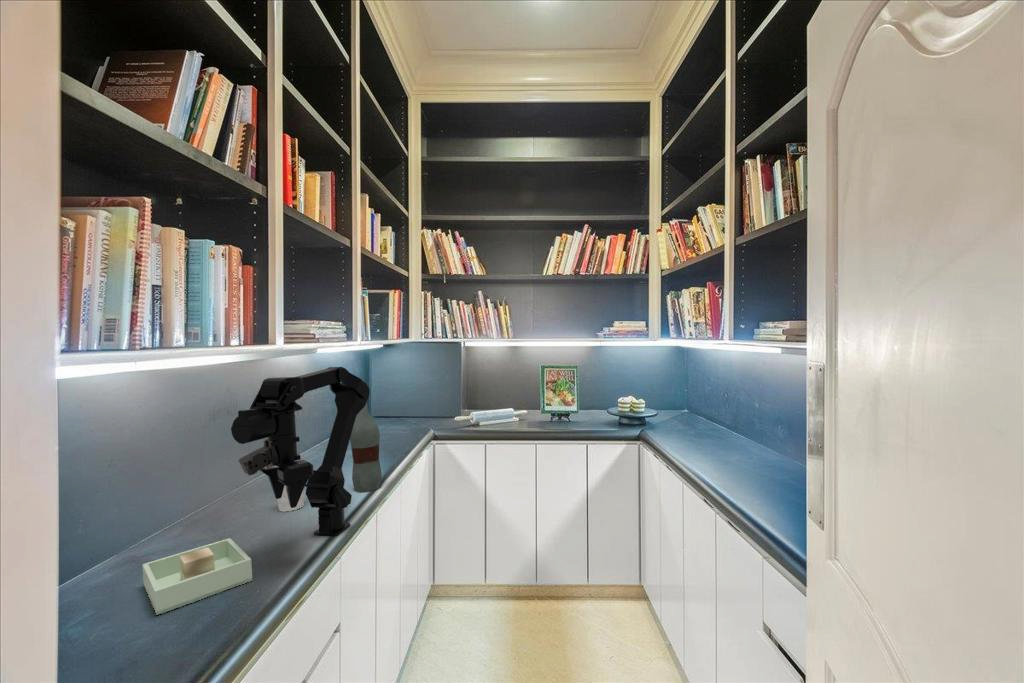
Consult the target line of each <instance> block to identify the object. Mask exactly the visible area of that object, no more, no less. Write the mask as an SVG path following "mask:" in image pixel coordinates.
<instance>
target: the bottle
mask: <svg viewBox="0 0 1024 683" xmlns="http://www.w3.org/2000/svg"><path fill="white" fill-rule="evenodd" d="M380 439H381V438H380V430H379V426H378V423H377V422H376V420H375V419H374V418H373V417H372V415H371V414H370V413H369V409H368V401H367V402H366V405H365V407H364V408H363V409H362V410H361V411H360V412H359V413H358V414H357V416H356V419H355V422H354V426H353V429H352V433H351V437H350V440H349V443H350V446H351V455H352V473H351V474H352V475H351V481H352V486H353V489H354V491H355V492H357V493H368V492H367V491H369V492H374V491H376V490H378V489H380V488H381V485H382V475H383V473H382V468H381V463H380V441H381V440H380Z"/></svg>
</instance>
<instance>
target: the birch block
mask: <svg viewBox="0 0 1024 683" xmlns="http://www.w3.org/2000/svg"><path fill="white" fill-rule="evenodd" d="M179 559H180V576H181V581H183V580H186V579H189V578H192V577H195V576H198V575H201V574H204V573H207V572H210V571H213V570H215V563H214V554H213V553H212V551H211V550H210V549H209V548H204V549H201V550H198V551H194V552H191V553H188V554H184V555H181V556H179Z"/></svg>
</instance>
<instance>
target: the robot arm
mask: <svg viewBox="0 0 1024 683" xmlns="http://www.w3.org/2000/svg"><path fill="white" fill-rule="evenodd" d="M327 386H329V390H330V391H331V393H332V394H334V395H335V396H334V403H335V406H336V411H337V412H336V415H335V418H334V422H333V426H332V427H331V428H332V429H331V432H330V436H329V439H328V442H327V446H326V449H325V453H324V456H323V459H322V462H321V465H320V466H319V467H318V468H317V469H315V470H314V465H313V464H312V463H311V462H309V461H308V460H305V459H301V457H302V456H301V454H299V453H298V445H297V442H301V441H300V436H298V435H297V430H296V429H297V426H296V425H297V424H296V412H297V411H301V410H303V406H301V405H300V404H298V403H297V402H296V401H298V400H300V399H301V398H303V396H304V395H305V394H306V393H308V392H312V391H314V390H318V389H321V388H324V387H327ZM370 391H371V389H370V387H369V385H368V384H367V383H366V382H365V381H364V380H363V379H361V378H360V377H358V376H357V375H355V374H353V373H351V372H349V370H347V368H345V367H343V366H329V367H327V368H324V369H322V370H321V369H320V370H316V371H314V372H309V373H305V374H301V375H298V376H287V377H286V376H285V377H284V376H283V377H281V376H280V377H267V378H266V379H263V380H262V382H261V386H260V388H259V389H258V391H257V394H256V396H255V398H254V399H253V402H252V404H250V407H249V409H241V410H238V411H237V417H235V419H234V420H233V421H232V425H231V427H230V431H231V435H232V437H233V439H234V440H235V442H237V443H238V444H241V445H243V444H245V445H246V444H249V443H252V442H256V441H258V440H263V439H264V440H263V446H262V447H260V448H257V449H255V450H253V451H251V452H250V453H248V454H246V455H244V456H242V457H240V458H239V459H238V463H239V464H240V466H241V468H242V471H243V472H244V474H247V475H248V476H253V475H255V474H257V473H258V471H260V472H261V473H262V474H264V475H266V476H267V478H268V480H269V484H270V486H271V489H272V491H273V494H274V497H275V499H276V500H277V499H279V498H281V497H282V494H283V490H284V486H286V490H287V495H288V499H289V504H290V507H291V508H294V507H296V506H297V504H298V501H299V499H300V496H301V494H302V492H303V489H304V490H305V489H306V490H305V496H306V498H307V500H308V502H309V505H310V507H311V508H312V509H313V508H318V511H317V514H318V516H317V518H318V520H317V522H318V529H317V530H315V531H314V532H313V535H314V536H315V535H320V536H339V534H341V533H343V531H344V530H346V529H347V528H349V527H350V526H351V523H350V522H345V520H346V519H345V509H346V508H348V507H349V505H351V504H352V498H353V495H352V494H351V493H350V492H349V491H348V490H346V488H345V483H346V480H345V477H344V476H345V475H344V473H343V464H344V461H345V457H346V455H347V451H348V446H349V443H350V437H351V433H352V429H353V426H354V422H355V419H356V417H357V416H358V414H359V412H360V411H361V410H362V409H363V408H364V407H365V405H366V402H367V403H368V400H369V397H370V393H371V392H370Z"/></svg>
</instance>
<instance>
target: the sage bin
mask: <svg viewBox="0 0 1024 683" xmlns="http://www.w3.org/2000/svg"><path fill="white" fill-rule="evenodd" d="M204 548H209V549H210V550H211V551H212V553H213V554H214V563H215V570H213V571H210V572H207V573H204V574H201V575H198V576H195V577H192V578H189V579H186V580H183V581H181V576H180V559H179V556H181V555H184V554H188V553H191V552H194V551H198V550H201V549H204ZM142 575H143V576H142V578H143V582H142V583H143V588H144V587H145V588H144V590H145V589H146V590H145V593H146V592H147V593H146V595H147V594H148V595H147V597H149V598H148V600H149V599H150V600H149V602H150V601H151V602H150V604H152V605H151V607H152V606H153V607H152V609H153V608H154V609H153V611H154V610H155V612H154V614H155V613H156V614H155V616H156V615H158V614H160V613H163V612H166V611H169V610H172V609H174V608H177V607H181V606H183V605H186V604H189V603H192V604H194V603H193V602H195V601H198V600H200V601H202V600H201V599H203V598H205V597H207V596H210V595H213V594H215V593H218V592H221V591H224V590H227V589H229V588H232V587H235V586H238V585H241V586H243V585H242V584H244V585H246V584H245V583H247V582H249V583H251V582H250V581H252V582H253V566H252V558H251V557H250V556H248V554H246V552H245V551H244V550H243V549H242V548H241V547H239V545H238V544H237V543H236V542H235V541H233V540H232V538H230V537H229V538H226V539H222V540H219V541H216V542H212V543H209V544H206V545H201V546H199V547H195V548H193V549H189V550H185V551H182V552H178V553H175V554H172V555H169V556H165V557H163V558H159V559H155V560H152V561H149V562H146V563H142ZM247 584H248V583H247ZM238 587H239V586H238ZM227 591H228V590H227ZM203 600H204V599H203ZM198 602H199V601H198ZM195 603H196V602H195ZM189 605H190V604H189ZM181 608H182V607H181Z"/></svg>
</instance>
